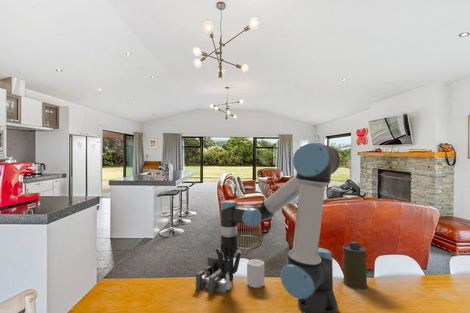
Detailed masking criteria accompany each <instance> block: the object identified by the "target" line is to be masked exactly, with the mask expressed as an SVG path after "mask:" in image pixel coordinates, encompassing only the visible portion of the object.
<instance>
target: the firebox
mask: <svg viewBox="0 0 470 313" xmlns="http://www.w3.org/2000/svg"><path fill="white" fill-rule="evenodd" d="M205 272H206V274H205ZM228 272H229V271H228ZM204 274H205V275H210V276H209V289H208V294H210V295H211V294H213V295H214V294H215V292H216V290H215V279H216V278H217V277H219V278H223V279H224V272H223V271H221V270H220V265H219V259H218V257H214V256H213V257H212V256H207V265H206V267H204V270H200V271H198V272H196V274H195V290H197V291H201V290H202V289H203V287H202V276H203V275H204ZM232 283H234V280H233V281H232Z"/></svg>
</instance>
